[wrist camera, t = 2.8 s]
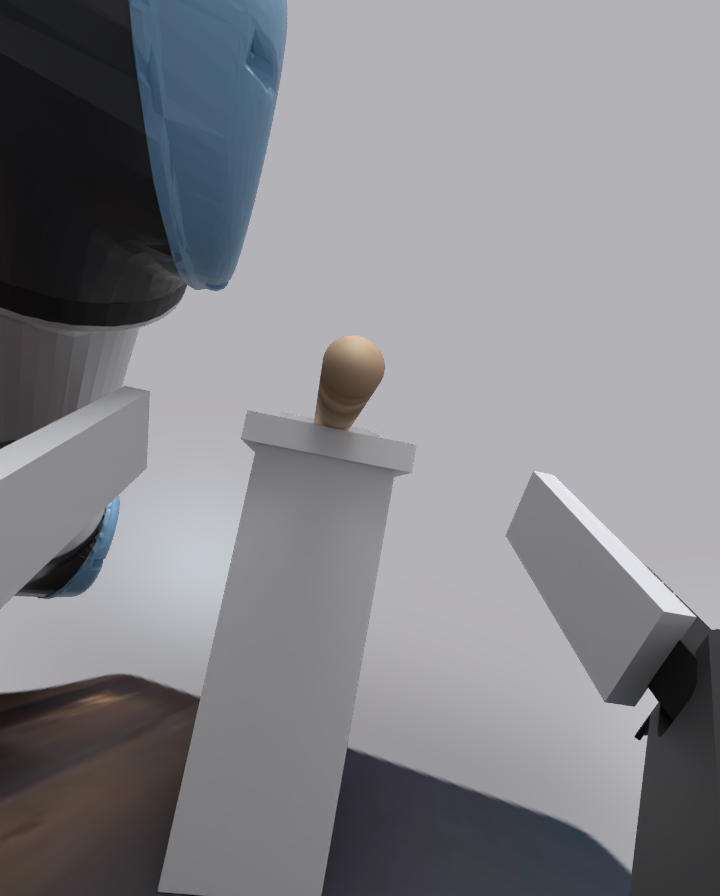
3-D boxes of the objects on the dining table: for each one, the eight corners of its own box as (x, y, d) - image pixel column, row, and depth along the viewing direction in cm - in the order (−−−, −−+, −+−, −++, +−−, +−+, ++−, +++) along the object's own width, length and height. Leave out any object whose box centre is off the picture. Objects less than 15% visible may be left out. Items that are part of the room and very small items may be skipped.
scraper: (438, 414, 20) (448, 356, 21) (253, 374, 19) (266, 314, 20) (367, 458, 43) (372, 430, 43) (280, 441, 42) (286, 412, 42)
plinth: (336, 921, 26) (416, 445, 30) (133, 906, 24) (247, 410, 29) (324, 774, 39) (380, 462, 44) (194, 759, 38) (265, 438, 42)
